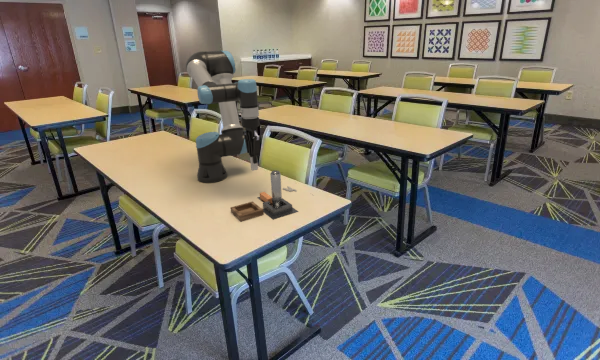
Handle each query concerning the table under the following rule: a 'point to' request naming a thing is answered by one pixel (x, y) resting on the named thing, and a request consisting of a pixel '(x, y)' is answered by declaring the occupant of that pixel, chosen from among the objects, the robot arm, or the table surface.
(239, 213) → the tray
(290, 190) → the pliers
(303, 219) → the table surface
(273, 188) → the grey cylindrical peg
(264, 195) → the orange rectangular bar
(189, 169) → the table surface
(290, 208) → the socket
